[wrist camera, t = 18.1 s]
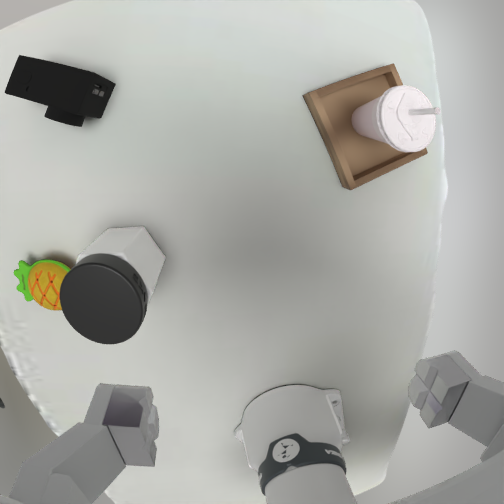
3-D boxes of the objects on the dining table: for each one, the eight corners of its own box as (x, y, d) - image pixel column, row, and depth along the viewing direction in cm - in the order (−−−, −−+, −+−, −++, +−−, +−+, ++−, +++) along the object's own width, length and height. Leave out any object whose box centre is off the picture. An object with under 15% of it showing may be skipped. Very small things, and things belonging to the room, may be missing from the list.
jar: (146, 302, 39) (126, 361, 27) (89, 274, 37) (50, 324, 25) (175, 241, 37) (159, 286, 25) (113, 210, 35) (72, 242, 23)
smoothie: (381, 91, 33) (457, 77, 19) (393, 142, 35) (471, 150, 22) (334, 99, 33) (398, 81, 19) (348, 153, 35) (416, 163, 22)
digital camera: (30, 106, 29) (-1, 103, 22) (47, 65, 28) (17, 54, 21) (97, 128, 31) (72, 126, 25) (116, 84, 30) (94, 72, 23)
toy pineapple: (89, 304, 38) (75, 325, 33) (28, 295, 37) (10, 313, 32) (85, 254, 36) (68, 271, 31) (22, 248, 34) (1, 262, 29)
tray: (416, 151, 36) (427, 153, 34) (342, 186, 37) (350, 190, 34) (383, 67, 32) (393, 63, 30) (302, 95, 33) (308, 92, 30)
